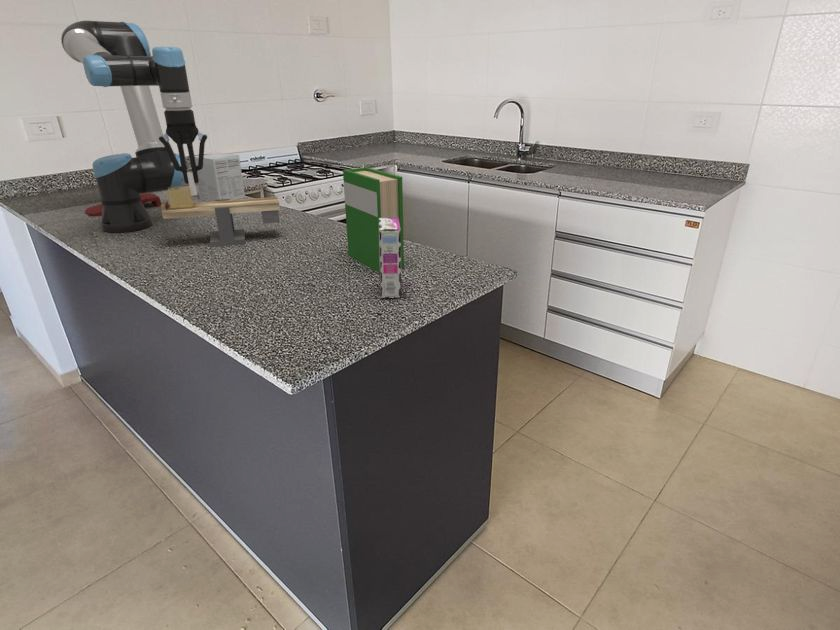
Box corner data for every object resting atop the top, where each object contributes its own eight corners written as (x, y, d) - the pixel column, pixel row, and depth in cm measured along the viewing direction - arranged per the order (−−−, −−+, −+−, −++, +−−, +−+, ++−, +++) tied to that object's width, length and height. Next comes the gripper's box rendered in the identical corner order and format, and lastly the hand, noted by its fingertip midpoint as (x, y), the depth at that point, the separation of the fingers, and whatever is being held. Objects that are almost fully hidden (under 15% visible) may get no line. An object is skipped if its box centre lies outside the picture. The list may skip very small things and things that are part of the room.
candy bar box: (402, 298, 119) (401, 229, 112) (380, 299, 119) (378, 230, 112) (400, 281, 129) (398, 216, 123) (380, 282, 129) (377, 217, 122)
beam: (169, 224, 160) (164, 199, 157) (279, 215, 169) (276, 192, 166) (166, 232, 152) (160, 206, 148) (281, 222, 160) (278, 198, 157)
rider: (173, 207, 156) (169, 187, 154) (194, 205, 158) (190, 185, 155) (171, 211, 152) (167, 190, 149) (193, 209, 153) (189, 189, 151)
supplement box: (246, 197, 218) (240, 154, 211) (220, 203, 208) (212, 158, 201) (225, 194, 225) (218, 152, 217) (199, 200, 215) (191, 156, 207)
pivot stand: (212, 236, 166) (206, 200, 161) (244, 233, 169) (239, 198, 164) (210, 247, 156) (203, 209, 151) (245, 243, 158) (239, 206, 154)
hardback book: (403, 268, 138) (402, 176, 128) (379, 274, 134) (376, 180, 124) (371, 251, 151) (367, 167, 141) (348, 256, 147) (342, 170, 137)
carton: (95, 227, 191) (164, 207, 203) (89, 214, 189) (159, 195, 201) (89, 221, 200) (155, 201, 212) (83, 208, 197) (151, 190, 210)
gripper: (150, 110, 139) (169, 198, 149) (202, 109, 143) (216, 195, 153) (154, 109, 146) (171, 193, 156) (204, 107, 149) (217, 190, 159)
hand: (194, 194), depth 154 cm, fingers closed
